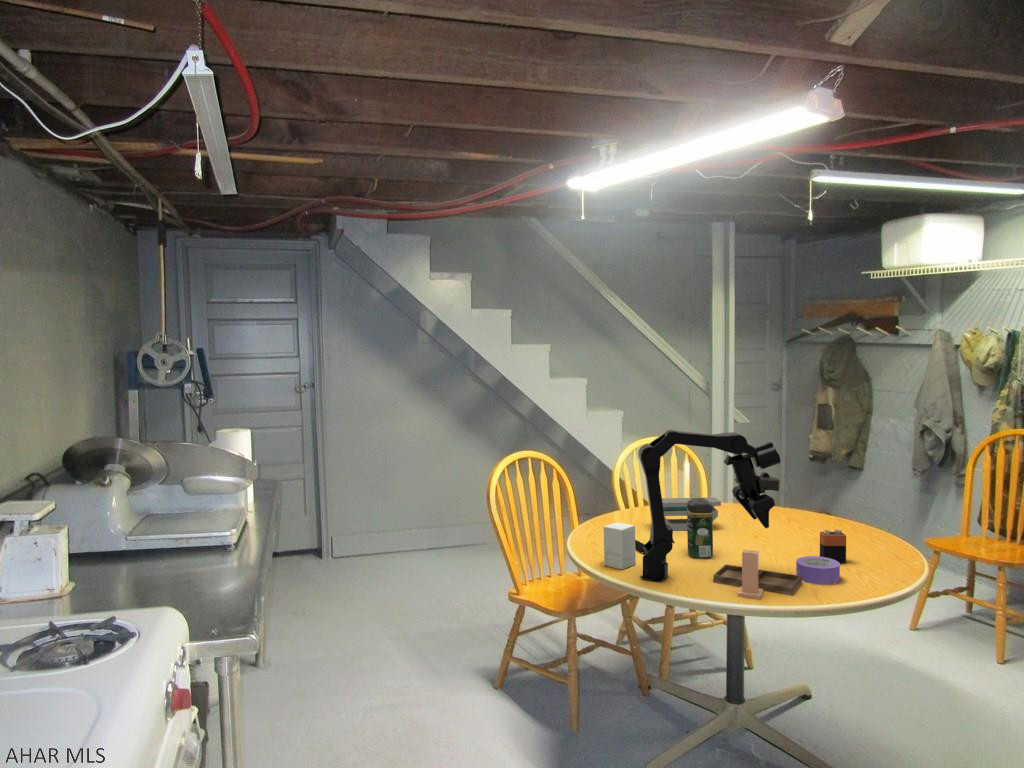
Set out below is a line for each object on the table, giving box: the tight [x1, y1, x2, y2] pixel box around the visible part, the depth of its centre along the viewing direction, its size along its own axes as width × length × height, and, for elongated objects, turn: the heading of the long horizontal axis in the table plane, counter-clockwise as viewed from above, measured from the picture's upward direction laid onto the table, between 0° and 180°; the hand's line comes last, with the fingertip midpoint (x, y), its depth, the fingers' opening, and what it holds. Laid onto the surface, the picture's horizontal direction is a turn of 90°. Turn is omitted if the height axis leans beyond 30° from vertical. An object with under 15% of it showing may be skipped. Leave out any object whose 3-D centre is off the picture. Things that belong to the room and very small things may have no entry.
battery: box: [819, 529, 847, 564], centre depth 225 cm, size 4×7×10 cm, turn 85°
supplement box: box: [603, 521, 637, 570], centre depth 225 cm, size 7×7×13 cm
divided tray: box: [712, 564, 803, 596], centre depth 206 cm, size 22×12×2 cm, turn 57°
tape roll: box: [795, 555, 841, 586], centre depth 210 cm, size 12×12×5 cm
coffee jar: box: [686, 497, 714, 560], centre depth 234 cm, size 10×8×19 cm
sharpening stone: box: [662, 496, 722, 531], centre depth 268 cm, size 25×8×11 cm, turn 90°
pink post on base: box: [737, 549, 764, 600], centre depth 197 cm, size 6×6×12 cm
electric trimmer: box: [635, 539, 646, 554], centre depth 238 cm, size 4×16×3 cm, turn 17°
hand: (761, 523), depth 211 cm, fingers open, 9 cm apart
